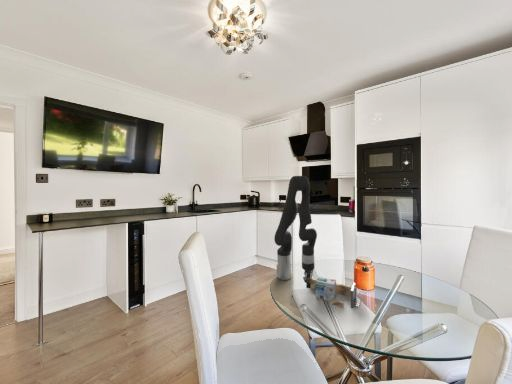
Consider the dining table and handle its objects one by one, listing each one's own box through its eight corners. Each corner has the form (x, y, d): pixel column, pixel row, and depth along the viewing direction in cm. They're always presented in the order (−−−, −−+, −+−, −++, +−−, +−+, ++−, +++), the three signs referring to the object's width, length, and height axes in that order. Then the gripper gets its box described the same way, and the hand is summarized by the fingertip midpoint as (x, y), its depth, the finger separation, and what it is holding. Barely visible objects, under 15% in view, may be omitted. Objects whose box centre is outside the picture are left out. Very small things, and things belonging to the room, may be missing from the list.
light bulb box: (315, 298, 146) (315, 281, 144) (318, 292, 152) (318, 276, 150) (334, 302, 141) (334, 284, 140) (336, 296, 147) (336, 279, 145)
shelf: (303, 297, 147) (303, 288, 146) (310, 286, 159) (310, 277, 158) (353, 309, 133) (353, 299, 132) (356, 296, 145) (356, 287, 145)
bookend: (350, 307, 135) (350, 290, 134) (353, 298, 144) (353, 282, 143) (358, 309, 133) (358, 292, 132) (360, 300, 142) (360, 283, 141)
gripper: (305, 256, 156) (305, 281, 159) (298, 263, 145) (298, 291, 147) (317, 257, 153) (317, 284, 155) (311, 266, 141) (311, 294, 143)
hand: (308, 287), depth 151 cm, fingers closed
